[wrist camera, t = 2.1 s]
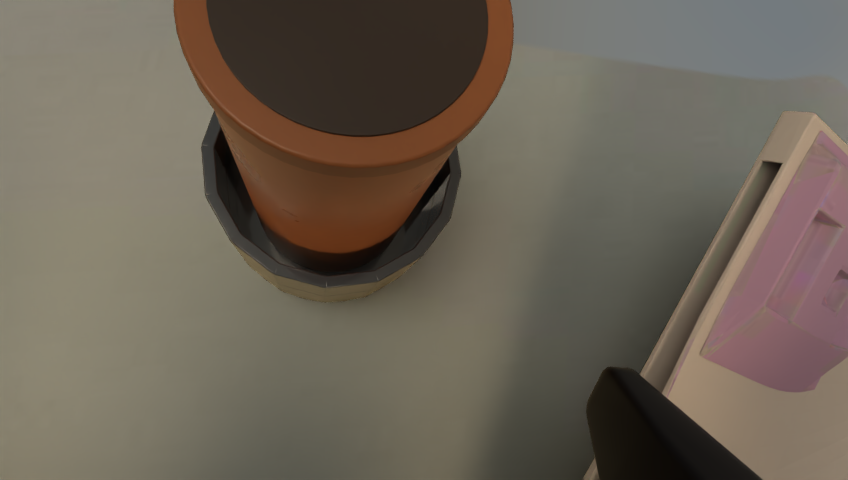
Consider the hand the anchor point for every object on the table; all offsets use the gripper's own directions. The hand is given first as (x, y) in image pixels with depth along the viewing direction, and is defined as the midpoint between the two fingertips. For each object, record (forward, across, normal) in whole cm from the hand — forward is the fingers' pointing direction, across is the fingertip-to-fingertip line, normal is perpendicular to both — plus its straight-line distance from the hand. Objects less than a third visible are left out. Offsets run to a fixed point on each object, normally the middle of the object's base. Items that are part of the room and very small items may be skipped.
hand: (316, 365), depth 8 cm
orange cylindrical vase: (+12, 0, +4) cm, 13 cm away
